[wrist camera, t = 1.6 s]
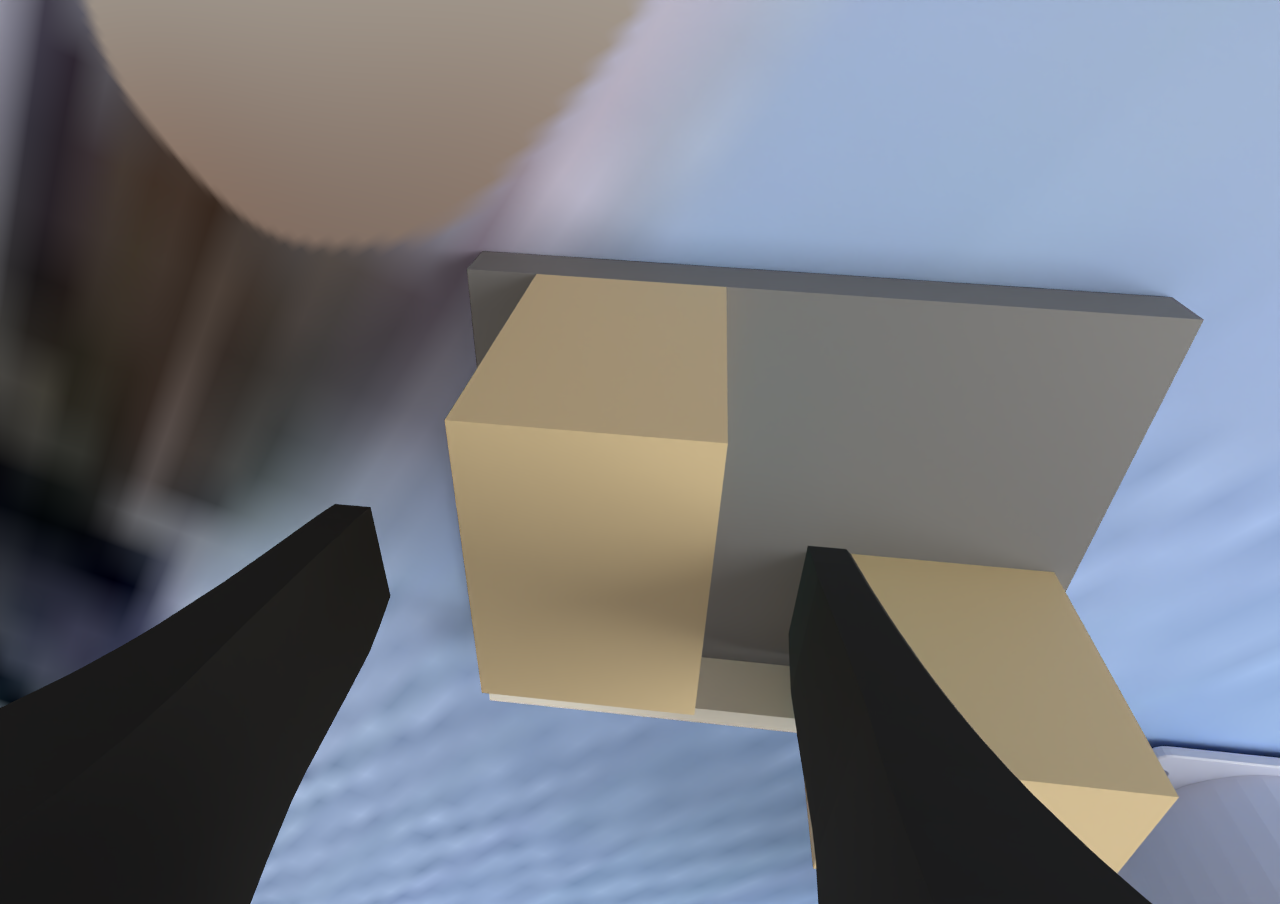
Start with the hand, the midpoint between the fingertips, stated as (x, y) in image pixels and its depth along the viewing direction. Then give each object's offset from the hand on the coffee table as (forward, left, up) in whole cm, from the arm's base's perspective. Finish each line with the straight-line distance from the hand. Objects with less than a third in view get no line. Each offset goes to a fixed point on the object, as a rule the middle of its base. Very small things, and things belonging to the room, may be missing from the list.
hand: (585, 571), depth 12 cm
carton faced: (-6, -8, -6) cm, 12 cm away
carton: (0, 0, -6) cm, 6 cm away
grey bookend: (-3, -4, -7) cm, 9 cm away
